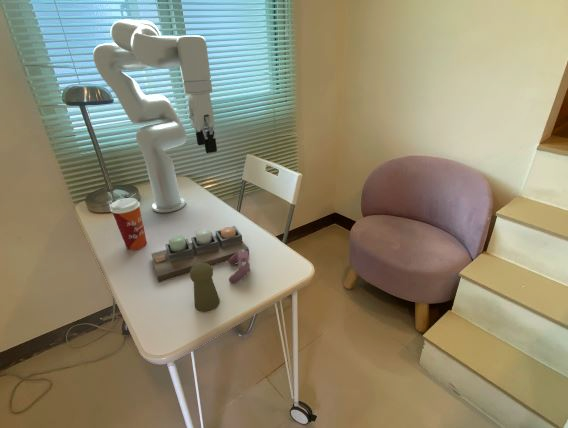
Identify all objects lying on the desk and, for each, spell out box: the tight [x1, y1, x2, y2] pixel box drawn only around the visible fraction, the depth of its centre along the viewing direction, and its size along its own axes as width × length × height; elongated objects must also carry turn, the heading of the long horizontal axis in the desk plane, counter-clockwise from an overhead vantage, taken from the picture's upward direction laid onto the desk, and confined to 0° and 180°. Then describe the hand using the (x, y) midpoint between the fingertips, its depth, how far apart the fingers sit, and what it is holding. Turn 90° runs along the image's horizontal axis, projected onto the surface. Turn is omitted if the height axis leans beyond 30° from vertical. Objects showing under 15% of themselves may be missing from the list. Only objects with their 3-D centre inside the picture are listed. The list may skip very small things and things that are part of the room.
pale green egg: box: [168, 235, 187, 253], centre depth 90 cm, size 4×4×3 cm
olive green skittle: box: [189, 263, 221, 313], centre depth 74 cm, size 6×6×11 cm
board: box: [150, 225, 250, 284], centre depth 93 cm, size 12×26×4 cm, turn 117°
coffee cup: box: [109, 197, 148, 251], centre depth 97 cm, size 8×8×15 cm
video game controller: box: [228, 249, 252, 284], centre depth 86 cm, size 10×5×7 cm, turn 10°
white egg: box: [194, 228, 212, 245], centre depth 93 cm, size 4×4×3 cm
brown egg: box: [220, 226, 236, 239], centre depth 97 cm, size 4×4×3 cm
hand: (207, 148), depth 95 cm, fingers open, 9 cm apart
